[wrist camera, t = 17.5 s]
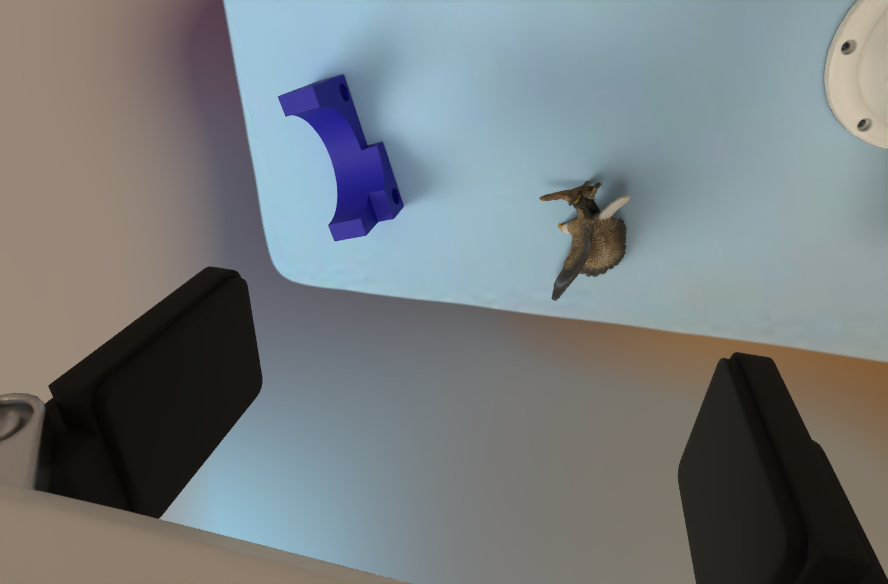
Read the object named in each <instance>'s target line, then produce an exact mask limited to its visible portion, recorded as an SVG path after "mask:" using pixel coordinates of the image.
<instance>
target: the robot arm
mask: <svg viewBox="0 0 888 584" xmlns="http://www.w3.org/2000/svg"><path fill="white" fill-rule="evenodd" d="M845 42H847V43H848V46H847V47H846V48H845V49H844V50H842V49H841V47H842V45H843V44H844V43H845ZM825 91H826V96H827V100H828V104H829V106H830V108H831V110H832V112H833V114H834V116H835V117H836V119H837V120H838V121H839V122H840V123H841V124H842V125H843V126H844V128H845V129H846V130H848V131H849V132H851V133H852V134H854V135H855V136H857V137H858V138H860V139H862V140H864V141H866V142H868V143H870V144H872V145H875V146H879V147H883V148H886V149H888V0H857V1H856V2H855V4H854V5H853V6H852V7H851V8H850V10H849V11H848V13H847V14H846V16H845V17H844V19H843V21H842V22H841V24H840V26H839V27H838V29H837V31H836V33H835V36H834V38H833V41H832V43H831V46H830V48H829V51H828V56H827V60H826V65H825ZM861 120H863V123H862V124H861V125H859V126H858V123H859V122H860V121H861ZM261 387H262V373H261V366H260V360H259V354H258V347H257V341H256V335H255V329H254V323H253V316H252V310H251V304H250V297H249V292H248V286H247V282H246V281H245V280H244V279H242V278H241V276H240V274H239V273H238V272H237V271H235V270H230V269H224V268H217V267H207V268H205V269H203V270H202V271H201V272H199V273H198V274H197V275H195V276H194V277H193V278H191V279H190V280H189V281H187V282H186V283H185V284H183V285H182V286H181V287H179V288H178V289H177V290H175V291H174V292H173V293H171V294H170V295H169V296H167V297H166V298H165V299H163V300H162V301H161V302H159V303H158V304H157V305H155V306H154V307H153V308H151V309H150V310H149V311H147V312H146V313H145V314H143V315H142V316H141V317H139V318H138V319H137V320H135V321H134V322H133V323H131V324H130V325H129V326H127V327H126V328H125V329H123V330H122V331H121V332H119V333H118V334H117V335H115V336H114V337H113V338H112V339H110V340H109V341H107V342H106V343H105V344H103V345H102V346H101V347H99V348H98V349H97V350H95V351H94V352H93V353H91V354H90V355H89V356H87V357H86V358H85V359H83V360H82V361H81V362H79V363H78V364H76V365H75V366H74V367H73V368H71V369H70V370H68V371H67V372H66V373H65V374H63V375H62V376H61V377H59V378H58V379H56V380H55V381H54V382H52V383H51V384H50V385H49V389H50V391H51V393H52V396H53V398H52V399H51V400H49V401H48V402H47V403H45V404H44V402H43V401H41V400H40V399H39V398H38V397H37V396H34V395H30V394H24V393H12V394H5V395H0V584H411V583H407V582H403V581H399V580H396V579H392V578H388V577H384V576H380V575H376V574H373V573H369V572H365V571H361V570H357V569H353V568H349V567H345V566H342V565H338V564H334V563H330V562H326V561H322V560H318V559H314V558H310V557H307V556H302V555H299V554H295V553H290V552H287V551H283V550H279V549H275V548H271V547H268V546H263V545H260V544H256V543H251V542H247V541H244V540H240V539H236V538H232V537H228V536H224V535H220V534H216V533H212V532H208V531H204V530H200V529H196V528H192V527H188V526H184V525H180V524H176V523H172V522H168V521H164V520H160V519H159V518H160V517H161V516H162V515H163V514H164V512H165V511H166V510H167V509H168V507H169V506H170V505H171V503H172V502H173V501H174V500H175V499H176V497H177V496H178V495H179V493H180V492H181V491H182V489H184V487H185V486H186V485H187V483H188V482H189V481H190V480H191V478H192V477H193V476H194V475H195V474H196V472H197V471H198V469H199V468H200V467H201V466H202V465H203V463H204V462H205V461H206V460H207V458H208V457H209V456H210V455H211V453H212V452H213V451H214V450H215V448H216V447H217V446H218V445H219V443H220V442H221V441H222V440H223V438H224V437H225V436H226V435H227V433H228V432H229V431H230V430H231V428H232V427H233V426H234V425H235V423H236V422H237V421H238V420H239V418H240V417H241V416H242V414H243V413H244V412H245V411H246V409H247V408H248V407H249V406H250V405H251V403H252V402H253V401H254V400H255V398H256V397H257V396H258V394H259V392H260V390H261ZM678 483H679V489H680V495H681V500H682V506H683V512H684V517H685V523H686V528H687V534H688V540H689V545H690V551H691V557H692V562H693V568H694V574H695V579H696V584H888V579H887V577H886V575H885V573H884V571H883V569H882V567H881V565H880V563H879V561H878V559H877V557H876V555H875V553H874V550H873V548H872V546H871V544H870V542H869V540H868V539H867V537H866V534H865V532H864V530H863V528H862V526H861V525H860V522H859V520H858V518H857V516H856V514H855V513H854V510H853V508H852V506H851V504H850V502H849V500H848V498H847V496H846V495H845V492H844V490H843V488H842V486H841V485H840V483H839V480H838V478H837V476H836V474H835V472H834V470H833V468H832V466H831V464H830V462H829V460H828V458H827V456H826V454H825V452H824V451H823V449H822V448H821V446H820V445H819V444H818V443H817V442H815V441H813V440H812V439H811V437H810V435H809V433H808V431H807V429H806V427H805V425H804V423H803V420H802V418H801V416H800V414H799V412H798V410H797V408H796V406H795V404H794V402H793V400H792V398H791V396H790V394H789V392H788V390H787V387H786V385H785V383H784V381H783V379H782V377H781V375H780V373H779V371H778V369H777V367H776V365H775V363H774V361H773V360H772V359H771V358H769V357H763V356H757V355H751V354H745V353H739V352H736V353H733V355H732V356H731V357H730V359H726V358H722V359H720V361H719V362H718V364H717V367H716V369H715V372H714V374H713V377H712V380H711V383H710V385H709V388H708V390H707V393H706V395H705V398H704V400H703V403H702V406H701V408H700V411H699V414H698V416H697V419H696V421H695V424H694V427H693V429H692V432H691V434H690V437H689V440H688V442H687V445H686V447H685V450H684V453H683V455H682V458H681V460H680V464H679V469H678Z"/></svg>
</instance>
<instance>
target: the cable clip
mask: <svg viewBox="0 0 888 584" xmlns="http://www.w3.org/2000/svg"><path fill="white" fill-rule="evenodd" d="M278 98H279V101H280V103H281V106H282V108H283V111H284V113H285V116H289V115H294V116H298V117H300V118H302V119H304V120H305V121H307V122H308V123H309V124H310V125H311V126H312V127H313V128H314V129H315V130H316V132H317V133H318V134H319V136H320V137H321V139H322V141H323V142H324V144H325V146H326V148H327V150H328V153H329V155H330V158H331V161H332V164H333V167H334V171H335V176H336V181H337V193H338V194H337V207H336V212H335V215H334V217H333V219H332V221H331V222H330V224H329V225H328V226H329V228H330V231H331V234H332V236H333V239H334V241H339V240H345V239H350V238H356V237H361V236H366V235H367V234H368V233H369V232H370V231H371V230H372V228H373V227H374V226H375V225H376V224H377V223H378V222H380V221H385V220H390V219H394V218H395V217H396V215H397V214H398V213H399V212H400V210H401V209H402V208H403V207H404V206H403V203H402V200H401V197H400V194H399V191H398V188H397V184H396V181H395V178H394V175H393V172H392V169H391V166H390V163H389V160H388V156H387V153H386V150H385V147H384V144H383V142H380V143H376V144H372V145H368V146H367V143H366V140H365V137H364V134H363V131H362V128H361V125H360V122H359V119H358V116H357V113H356V110H355V107H354V104H353V101H352V98H351V95H350V92H349V89H348V86H347V84H346V81H345V78H344V75H339V76H336V77H333V78H329V79H326V80H323V81H319V82H316V83H312V84H310V85H307V86H304V87H302V88H299V89H296V90H294V91H291V92H288V93H286V94H283V95H280V96H278Z"/></svg>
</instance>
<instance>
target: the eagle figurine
mask: <svg viewBox="0 0 888 584" xmlns="http://www.w3.org/2000/svg"><path fill="white" fill-rule="evenodd" d="M589 185H590V181H586V182H585V184H584V185H583V186H580V187H577V188H574V189H571V190H564V191H560V192H556V193H551V194H547V195H544V196H542V197H540V200H542V201H551V200H558V199H564V200H566V201H568V202H569V206H571V205H572V204H573V206H574V208H575V209H576V210H577V213H578V217H577V218H574V219H572V220H571V221H570V222H568V223H566V224H563V225H561V224H558V227H559V228H560V229H561V232H562V233H565V234H572V238H573V240H572V247H571V250H570V253H569V255H568V256H567V258H566V260H565V263H564V266H563V269H562V271H561V272H560V274H559V275H558V277H557V279H556V281H555V283H554V290H553V294H552V300H554V301H555V300H557V299H559V298H560V296H561V295H562V294H563V292H564V291H565V290H566V288H567V287H568V286H569V285H570V284H571V283H572V282H573V280H574V279H575V278H576V277H577V275H578V274H579V273H581V274H584V273H585V274H586V276H588V277H589V276H591V275H592V276H594V277H596V276H598V275H599V274H600V273H601V274H604V273H606V271H607V270H608V269H612V268H613V267H614V265H618V263H619V262H620V261H621V259H623V257H624V254H625V248H626V245H625V243H626V236H625V235H626V230H627V229H626V226H625V224H624V221H623V220H621V219H617V218H614V219H613V217H612V215H613V214H614V213H615V212H616V211H617V210H618V208H620V207H621V206H623V205H625V204H626V203H627V202H628V201H629V196H624V197H619V198H618V199H617V200H615V201H614V202H612V203H610V204H609V205H608V206H607V207H606V208H605V209H604V210H603V211H600V210H599V208H598V207H597V205H596V203H595V202H594V196H595V194H596V193H597V190H598V188H599V187H600V186H601V185H602V183H599V182H598V183H596V184H595V185H594V186H589Z"/></svg>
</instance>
